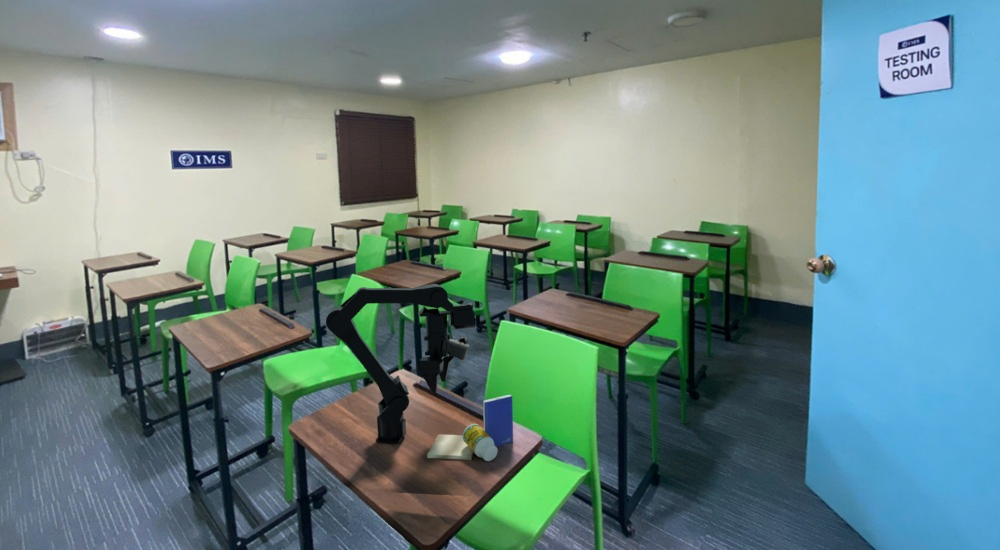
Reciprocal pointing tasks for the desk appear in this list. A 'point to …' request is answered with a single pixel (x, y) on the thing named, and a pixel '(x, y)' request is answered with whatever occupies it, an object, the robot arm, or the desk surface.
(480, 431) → the supplement bottle
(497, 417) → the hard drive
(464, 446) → the birch board
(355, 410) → the desk surface
